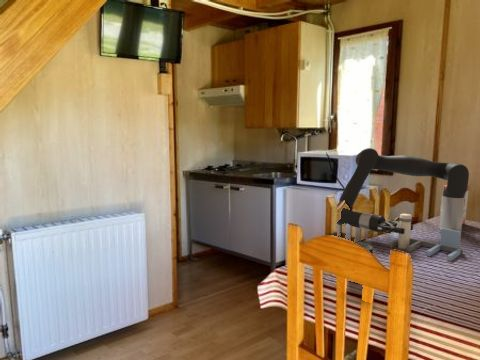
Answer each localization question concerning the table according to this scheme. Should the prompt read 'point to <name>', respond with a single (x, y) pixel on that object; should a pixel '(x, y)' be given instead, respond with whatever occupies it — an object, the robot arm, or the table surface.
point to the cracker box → (464, 203)
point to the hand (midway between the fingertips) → (408, 229)
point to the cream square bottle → (405, 224)
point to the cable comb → (447, 243)
